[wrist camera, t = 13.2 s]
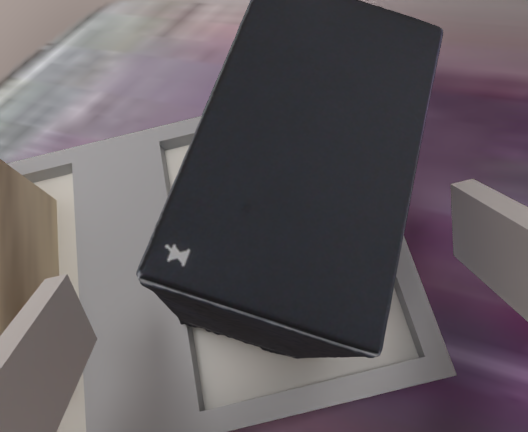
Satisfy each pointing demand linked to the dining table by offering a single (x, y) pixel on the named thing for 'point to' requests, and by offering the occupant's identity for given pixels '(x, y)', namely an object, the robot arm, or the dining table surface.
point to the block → (24, 241)
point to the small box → (299, 180)
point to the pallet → (182, 336)
